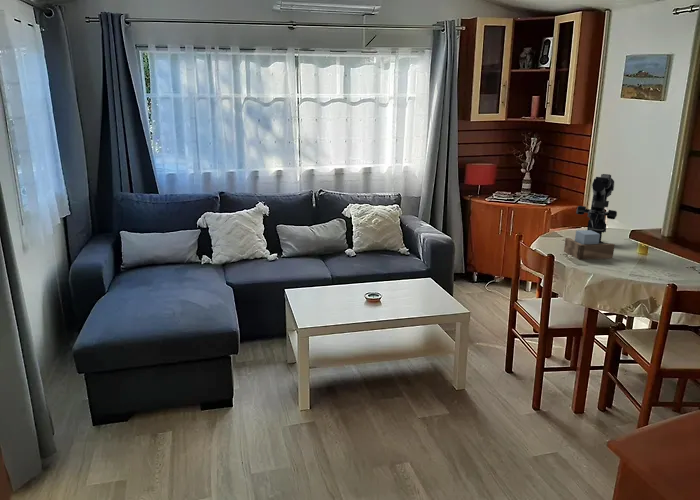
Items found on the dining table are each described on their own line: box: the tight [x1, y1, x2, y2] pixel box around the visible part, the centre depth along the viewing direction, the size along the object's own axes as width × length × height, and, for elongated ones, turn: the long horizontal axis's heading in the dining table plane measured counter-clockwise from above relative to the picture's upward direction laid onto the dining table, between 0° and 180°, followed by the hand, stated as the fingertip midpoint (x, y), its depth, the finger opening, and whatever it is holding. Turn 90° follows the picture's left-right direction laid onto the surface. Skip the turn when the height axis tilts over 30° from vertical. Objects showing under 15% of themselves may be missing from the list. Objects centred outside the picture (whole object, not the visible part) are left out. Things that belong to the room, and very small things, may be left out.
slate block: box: [574, 229, 600, 244], centre depth 278 cm, size 8×8×12 cm
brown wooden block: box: [563, 237, 615, 260], centre depth 280 cm, size 14×18×7 cm
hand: (593, 227), depth 285 cm, fingers closed
